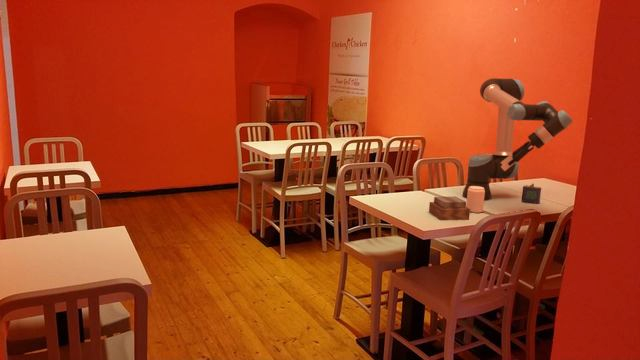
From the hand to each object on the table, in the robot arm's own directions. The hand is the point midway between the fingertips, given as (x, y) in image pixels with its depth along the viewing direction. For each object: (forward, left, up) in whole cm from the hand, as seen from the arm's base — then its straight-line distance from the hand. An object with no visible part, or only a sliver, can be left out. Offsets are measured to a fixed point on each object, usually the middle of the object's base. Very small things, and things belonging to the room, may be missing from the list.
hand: (502, 166), depth 250 cm
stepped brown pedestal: (+26, +1, -23) cm, 35 cm away
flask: (-31, -20, -24) cm, 44 cm away
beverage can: (+9, -6, -24) cm, 26 cm away
